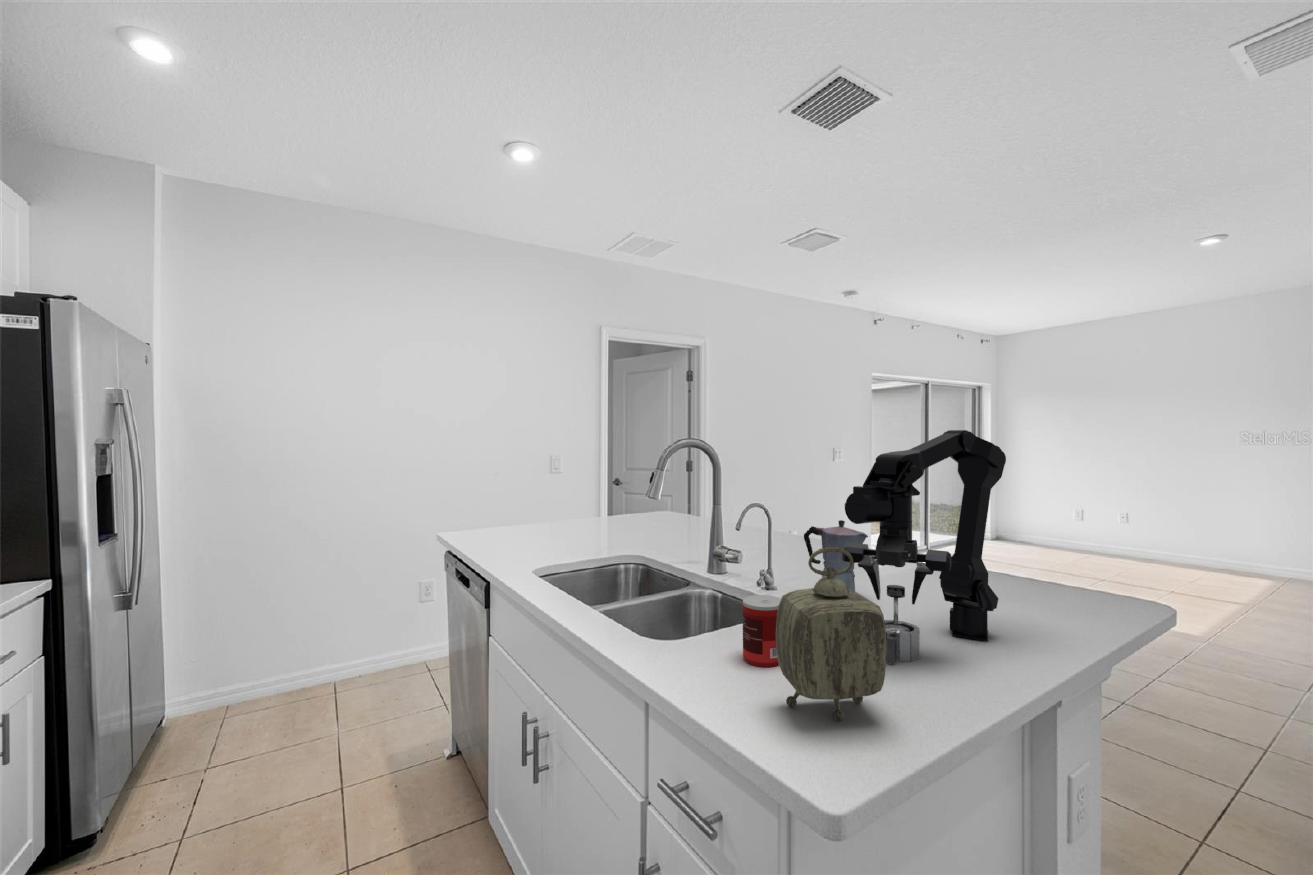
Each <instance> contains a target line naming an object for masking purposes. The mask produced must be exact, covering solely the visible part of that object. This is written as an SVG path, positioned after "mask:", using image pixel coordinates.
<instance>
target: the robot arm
mask: <svg viewBox="0 0 1313 875" xmlns="http://www.w3.org/2000/svg"><path fill="white" fill-rule="evenodd" d="M948 458H951V459H952V461H954V462H956V463H957V473H958V476H959V478H960V480H961V481H962V483H963V484H962V485H963V490H962V498H961V505H960V512H959V519H958V526H957V532H956V539H955V547H954V553H953V554H951V553H950V552H949V551H948V550H936V549H927V552H926V553H918V552H919V551H918V540H917V539H913V497H915V496H916V497H917V496H920V494H921V492H920V491H919V490H918V489H917V488H916V487H914V485H913V484H914V483H916V482H917V481H919V480H920V479H921V478H922V477H923V476H924V474H925V470H926V469H928V468H930V467H932V466H934V465H936V464H938V463H940V462H942V461H944V460H946V459H948ZM874 461H875V462H874V463H873V465H872V467H871V469H870V471H869V473H868V475H867V477H865V481H864V483H863V485H862V486H861V485H860V486H859V485H857V486H853V487H852V493H850V494H849V495H848V496H847V498H846V500H845V503H844V513H845V515H846V517H847V518H848V520H849V521H850V522H851V523H853V524H855V525H861V524H862V525H863V524H870V523H871V524H872V523H878V522H879V535H878V537H877V540H876V545H875V548H874V549H872V548H869V544H867V543H863V544H859V543H850V544H848V545H847V546H846V547H845V548H844V550H846V551H848V552H849V553H850V554H851V556H852V558H853V562H854V564H856V563H857V567H858V568H862V569H863V570H864V571H865V572H866V574H867V576H868V578H869V580H870V583H871V586H872V588H873V591H874V594H875V597H876V600H877V601H880V600H881V593H882V592H881V590H882V589H881V580H880V578H881V577H880V568H879V566H882V567H884V566H891V567H895V568H903V567H906V563H909V564H916V568H915V570H914V579H913V585H912V592H911V593H912V594H911V604H912V605H913V606H914V605H915V604H916V602H917V598H918V595H919V592H920V590H921V588H922V587H921V586H922V584H923V582H924V580H925V579H926V576H928V575H934V572H940V575H939V577H938V578H939V581H940V582H939V584H940V588H941V591H942V594H943V600H944V601H945V602H950V603H952V607H950V609H949V630H950V632H951V636H953V637H957V638H965V639H970V640H975V641H976V640H977V641H982V642H989V628H988V627H989V626H988V615H989V614H988V612H994V610H996V609H997V608H998V603H999V597H998V595H996V593H995V591H994V590H993V589H992V588H991V586H990V585H989V571H988V570H987V567H986V565H985V563H984V560H983V551H984V550H983V549H984V544H985V543H984V542H985V535H986V528H987V521H988V514H989V507H990V498H991V491H992V489H993V487H994V486H996V485H997V483H998V482H999V481H1000V479H1001V478H1002V477H1003V473H1004V469H1005V465H1006V463H1007V462H1006V461H1007V456H1006V454H1005V452H1004V451H1003V450H1002V449H1001V447H1000V446H998V445H996V444H994V443H993V442H990V441H989V440H986V439H984V438H981V437H979V436H977V435H976V434H974V433H973V432H971V431H969V430H966V429H952V430H951V429H949V430H947V431H944V432H943V433H942V434H940V435H938V436H936V437H934V438H931V439H929V440H927V441H925V442H923V443H921V444H919V445H916V446H914V447H911V448H910V449H907V450H906V449H905V450H898V451H897V450H896V451H889V452H884V453H881V454H879V455H877V457H876V458H875V460H874ZM843 561H845V562H850V559H849V558H848V556H846V555H845V554H843Z"/></svg>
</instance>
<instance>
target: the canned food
mask: <svg viewBox="0 0 1313 875" xmlns="http://www.w3.org/2000/svg"><path fill="white" fill-rule="evenodd" d="M781 598H782V597H781ZM781 598H780V597H778V596H775V595H768V594H755V595H748V596H745V597H744V598H743V599H742V655H743V660H744V661H745V662H746V663H747V664H750V665H752V666H754V667H758V668H759V667H760V668H772V667H773V668H774V667H776V666H779V662H778V657H777V647H776V622H777V612H778V607H779V603H780V601H781Z"/></svg>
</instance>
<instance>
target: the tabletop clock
mask: <svg viewBox="0 0 1313 875" xmlns="http://www.w3.org/2000/svg"><path fill="white" fill-rule="evenodd" d="M825 552H841V553H843V554H845V555H846V556H848V558H849V559H850V564H849V566H847V567H846V568H844V569H841V570H837V571H835V568H834V567H833V566H828V567H827V571H823V570H822V569H821V570H820V569H817V568H815V567H814V566H813V563H812V560H813V559H814V558H815V557H817V556H818V555H821V554H823V553H825ZM807 564H808V567H809V569H810V570H811V571H812V572H813V573H815V574H817V575H820V576H821V577H820V578H819V579H818V580H817V582H815V585H814V586H813V588H812V587H811V588H803V589H796V590H792V591H789V592H787V593H785V594H783V595H782V596H781V601H780V603H779V607H778V612H777V622H776V647H777V657H778V662H779V665H778V667H779V670H780V671H781V673H782V675H783V676H784V678H785V679H786V680H787V682H789V683H790V685H791V686H792V688H794V690H795V693H794V694H793V695H788V696H787V697H786V699H785V700H786V704H787V706H788V707H789V708H794V707H796V705H797V703H798V700H797V698H799V696H801V697H804V698H806V699H810V700H830V701H831V700H833V703H834V708H835V709H833V711H832V718H833V719H834V720H836V721H837V722H840V721H842V720H844V717H845V715H844V712H843V710H842V709H840V700H847V699H852V700H853V701H852V702H854V703H856V704H860V703H862V701H863V699H864V697H868V696H873V695H876V694H878V693H879V692H881V691H882V689H883V686H884V684H885V677H886V667H887V666H886V665H887V659H886V655H887V641H886V627H885V621H884V620H885V618H884V613H883V611H882V608H881V606H879V605H878V604H877V603H875V602H873V601H872V600H870V599H869V598H867V597H865V596H863V595H861V594H860V593H858V592H856V591H855V592H854V591H852V590H849V589H848V587H847V585H846V584H845V583H844V582H843V581H842V580H841V579H839V578H837V577H835V576H836V575H841V574H843V573H845V572H847V571H848V570H849V569H850V568H851V567H852V565H853V558H852V556H851V554H850V553H849V552H848V551H846V550H844V549H842V548H836V547H827V548H822V547H821V548H819V549H817V550H815V551H814V552H813V554H812V555H811V556H809V558H808V563H807ZM822 575H824V576H827V577H822Z"/></svg>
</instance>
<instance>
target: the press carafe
mask: <svg viewBox="0 0 1313 875" xmlns="http://www.w3.org/2000/svg"><path fill="white" fill-rule="evenodd" d="M884 621H885V625H900V626H904V627H907V628H908V629H909V630H910V632H908V633H897V632H891V631H887V630H886V641H887V655H886V665H887V664H888V665H892V666H893V665H895V664H896V662H913V661H916V660H919V659H920V653H921V652H920V650H921V648H920V647H921V646H920V645H921V644H920V643H921V642H920V640H921V639H920V638H921V637H920V635H921V634H920V633H921V632H920V631H921V629H920V627H918V626H917V625H915V624H913V623H909V622H907V621H903V620H898V624H894V619H884Z"/></svg>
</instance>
